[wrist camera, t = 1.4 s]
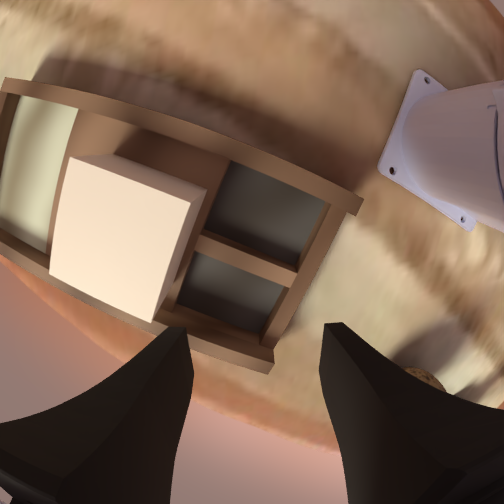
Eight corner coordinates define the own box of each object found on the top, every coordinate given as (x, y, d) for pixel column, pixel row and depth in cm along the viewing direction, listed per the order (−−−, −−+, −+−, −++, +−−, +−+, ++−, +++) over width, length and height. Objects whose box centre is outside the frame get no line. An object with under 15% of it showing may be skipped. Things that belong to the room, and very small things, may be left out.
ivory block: (207, 189, 16) (190, 203, 11) (173, 283, 17) (151, 323, 13) (112, 153, 15) (69, 156, 11) (88, 246, 17) (48, 273, 12)
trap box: (346, 191, 17) (364, 198, 14) (266, 347, 21) (267, 374, 18) (30, 82, 14) (5, 77, 11) (-1, 226, 18) (-25, 237, 15)
